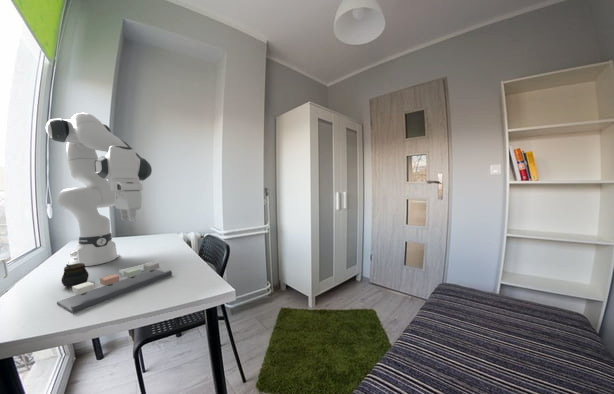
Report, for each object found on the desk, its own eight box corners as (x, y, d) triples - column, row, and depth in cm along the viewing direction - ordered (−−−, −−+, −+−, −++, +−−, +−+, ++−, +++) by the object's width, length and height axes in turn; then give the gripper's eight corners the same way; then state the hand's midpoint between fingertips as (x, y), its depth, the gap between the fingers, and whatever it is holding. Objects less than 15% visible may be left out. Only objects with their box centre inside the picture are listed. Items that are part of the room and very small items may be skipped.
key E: (100, 286, 76) (99, 278, 76) (114, 282, 80) (113, 273, 80) (105, 288, 74) (105, 280, 74) (119, 284, 78) (119, 275, 78)
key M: (143, 272, 89) (143, 264, 89) (154, 268, 92) (153, 261, 92) (149, 273, 87) (148, 266, 87) (159, 270, 91) (159, 263, 91)
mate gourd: (92, 279, 88) (90, 256, 88) (84, 287, 82) (82, 262, 81) (68, 283, 85) (66, 259, 84) (57, 291, 78) (55, 265, 77)
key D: (123, 278, 82) (123, 270, 82) (135, 274, 86) (135, 267, 86) (129, 280, 81) (128, 272, 81) (141, 276, 84) (140, 268, 84)
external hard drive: (156, 268, 101) (123, 277, 91) (151, 264, 106) (118, 273, 96) (156, 265, 101) (123, 274, 91) (150, 261, 105) (118, 269, 96)
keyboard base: (56, 303, 70) (56, 297, 69) (154, 270, 97) (154, 266, 97) (73, 313, 64) (72, 307, 64) (171, 275, 91) (171, 270, 91)
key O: (72, 295, 70) (72, 286, 70) (89, 290, 73) (88, 281, 73) (78, 298, 68) (77, 289, 68) (94, 292, 72) (93, 283, 72)
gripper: (108, 187, 87) (111, 220, 87) (122, 185, 75) (125, 223, 75) (128, 187, 92) (130, 218, 93) (143, 185, 80) (146, 220, 80)
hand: (128, 220), depth 84 cm, fingers open, 8 cm apart
